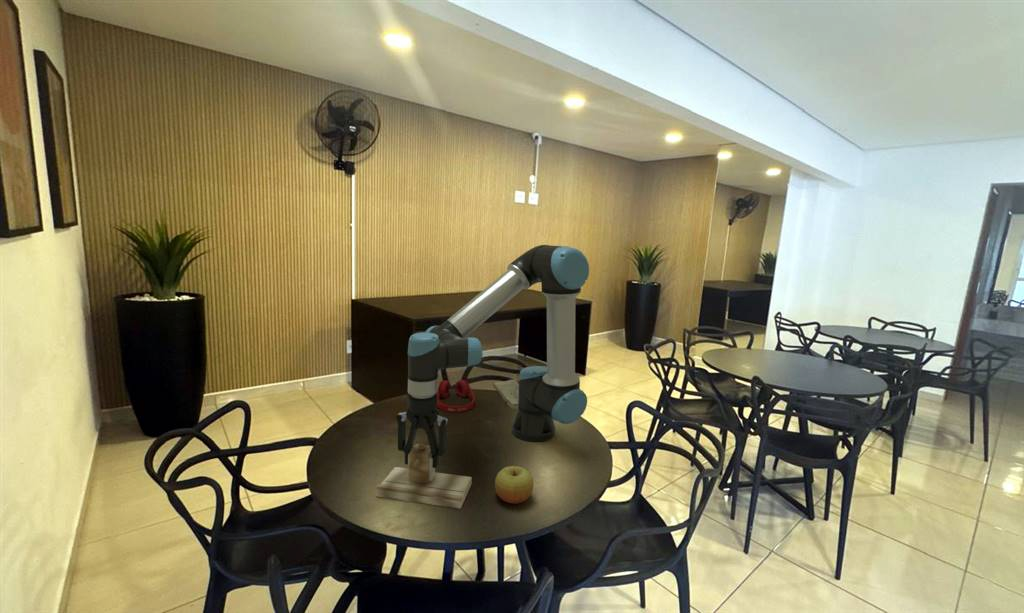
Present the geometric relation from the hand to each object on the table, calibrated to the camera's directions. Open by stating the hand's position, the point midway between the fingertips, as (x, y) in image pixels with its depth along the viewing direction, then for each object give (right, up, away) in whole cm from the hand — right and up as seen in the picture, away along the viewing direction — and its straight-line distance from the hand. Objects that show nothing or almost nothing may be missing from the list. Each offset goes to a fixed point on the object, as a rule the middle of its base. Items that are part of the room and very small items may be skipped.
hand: (421, 476), depth 115 cm
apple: (+24, -5, -3) cm, 25 cm away
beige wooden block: (0, -1, -1) cm, 1 cm away
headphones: (+1, +6, +58) cm, 58 cm away
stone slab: (+26, +6, +66) cm, 71 cm away
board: (+1, -3, -1) cm, 4 cm away
